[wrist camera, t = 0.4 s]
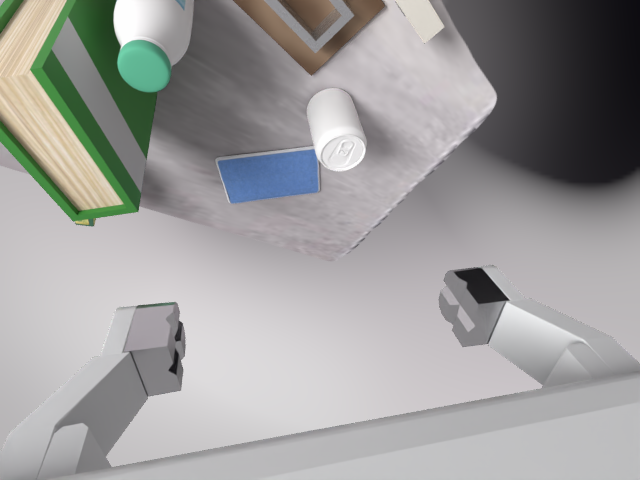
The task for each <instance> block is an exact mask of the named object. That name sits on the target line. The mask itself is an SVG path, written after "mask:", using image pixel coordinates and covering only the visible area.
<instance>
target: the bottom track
mask: <svg viewBox="0 0 640 480" xmlns="http://www.w3.org/2000/svg"><path fill="white" fill-rule="evenodd" d="M264 1H265V2H266V3H267V4H268V5H269V6H270V7H271V8H272V9H273V10H274V11H275V12H276V14H277V15H278V16H279V17H280V18H281V19H282V20H283V21H284V22H285V23H286V24H287V25H288V26H289V27H290V28H291V29H292V30H293V31H294V32H295V33H296V34H297V35H298V36H299V37H300V38H301V39H302V40H303V41H304V42H305V43H306V44H307V45H308V47H309V48H310V49H311V50H312V51H313V52H314V53H316V52H317V51H319V50H320V49H321V48H322V47H323V46H324V45H325V44H326V43H327V42H328V41H329V40H330V39H331V38H332V37H333V36H334V35H335V34H336V33H337V32H338V31H339V30H340V29H341V28H342V27H343V26H344V25H345V24H346V23H347V22H348V21H349V20H350V19H351V18H352V17H353V16H354V14H353V11H352V9H351V7H350V5H349V4H348V3H347V1H346V0H329V1H330V2H331V3H332V4H333V6H334V7H335V9H334V10H333V11H332V12H331V13H330V14H329V15H328V16H327V17H326V18H325V19H324V20H323V21H322V22H321V23H320V24H319V25H318V26H317V27H316V28H315V29H314V30H313V31H312V29H311V28H310V27H309V26H308V25H307V24H306V23H305V22H304V21H303V20H302V19H301V18H300V16H299V15H298V14H297V13H296V12H295V11H294V10H293V9H292V8H291V7H290V6H289V5H288V3H287V2H286V1H285V0H264Z"/></svg>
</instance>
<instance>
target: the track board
mask: <svg viewBox="0 0 640 480" xmlns="http://www.w3.org/2000/svg"><path fill="white" fill-rule="evenodd" d="M233 1H234V2H235V3H236V4H237V5H238V6H239V7H240V8H241V9H243V10H244V11H245V12H246V13H247V14H248V15H249V16H250V17H251V18H252V19H253V20H254V21H255V22H256V23H257V24H258V25H259V26H260V27H261V28H262V29H263V30H264V31H265V32H266V33H267V34H268V35H270V36H271V37H272V38H273V39H274V40H275V41H276V42H277V43H278V44H279V45H280V46H281V47H282V48H283V49H284V50H285V51H286V52H287V53H288V54H289V55H290V56H291V57H292V58H293V59H294V60H295V61H297V62H298V63H299V64H300V65H301V66H302V67H303V68H304V69H305V70H306V71H307V72H308V73H309V74H310V75H311V76H312V75H313V74H314V73H315V72H316V71H317V70H318V69H319V68H320V67H321V66H322V65H323V64H324V63H325V62H326V61H327V60H328V59H330V58H331V57H332V56H333V55H334V54H335V53H336V52H337V51H338V50H339V49H340V48H341V47H342V46H343V45H344V44H345V43H346V42H348V41H349V40H350V39H351V38H352V37H353V36H354V35H355V34H356V33H357V32H358V31H359V30H360V29H361V28H362V27H363V26H364V25H366V24H367V23H368V22H369V21H370V20H371V19H372V18H373V17H374V16H375V15H376V14H377V13H378V12H379V11H380V10H381V9H382V8H384V7H385V5H384V3H383V2H382V0H346V1H347V3H348V4H349V5H350V7H351V9H352V11H353V14H354V16H353V17H352V18H351V19H350V20H349V21H348V22H347V23H346V24H345V25H344V26H343V27H342V28H341V29H340V30H339V31H338V32H337V33H336V34H335V35H334V36H333V37H332V38H331V39H330V40H329V41H328V42H327V43H326V44H325V45H324V46H323V47H322V48H321V49H320V50H319V51H317V52H316V53H314V52H313V51H312V50H311V49H310V48H309V47H308V45H307V44H306V43H305V42H304V41H303V40H302V39H301V38H300V37H299V36H298V35H297V34H296V33H295V32H294V31H293V30H292V29H291V28H290V27H289V26H288V25H287V24H286V23H285V22H284V21H283V20H282V19H281V18H280V17H279V16H278V15H277V14H276V12H275V11H274V10H273V9H272V8H271V7H270V6H269V5H268V4H267V3H266V2H265V1H264V0H233ZM285 1H286V2H287V3H288V5H289V6H290V7H291V8H292V9H293V10H294V11H295V12H296V13H297V14H298V15H299V16H300V18H301V19H302V20H303V21H304V22H305V23H306V24H307V25H308V26H309V27H310V28H311V29H312V31H313V30H314V29H315V28H316V27H317V26H318V25H319V24H320V23H321V22H322V21H323V20H324V19H325V18H326V17H327V16H328V15H329V14H330V13H331V12H332V11H333V10H334V9H335V7H334V6H333V4H332V3H331V2H330V1H329V0H285Z"/></svg>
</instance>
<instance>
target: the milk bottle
mask: <svg viewBox="0 0 640 480" xmlns="http://www.w3.org/2000/svg"><path fill="white" fill-rule="evenodd" d="M193 10H194V0H117V1H116V5H115V9H114V20H113V21H114V29H115V33H116V36H117V39H118V42H119V44H120V45H121V49H120V52H119V55H118V61H117V64H118V69H119V72H120V74H121V76H122V78H123V79H124V80H125V81H126V82H127V83H128V84H129V85H130V86H132V87H133V88H135V89H137V90H139V91H143V92H150V93H151V92H158V91H160V90H162V89H163V88H165V87H166V86H167V84H168V83H169V81H170V77H171V70H172V66H173V65H174V64H176V63H177V62H178V61H179V60H180V59H181V58H182V57H183V56H184V54H185V53H186V51H187V48H188V46H189V43H190V37H191V31H192V22H193Z"/></svg>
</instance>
